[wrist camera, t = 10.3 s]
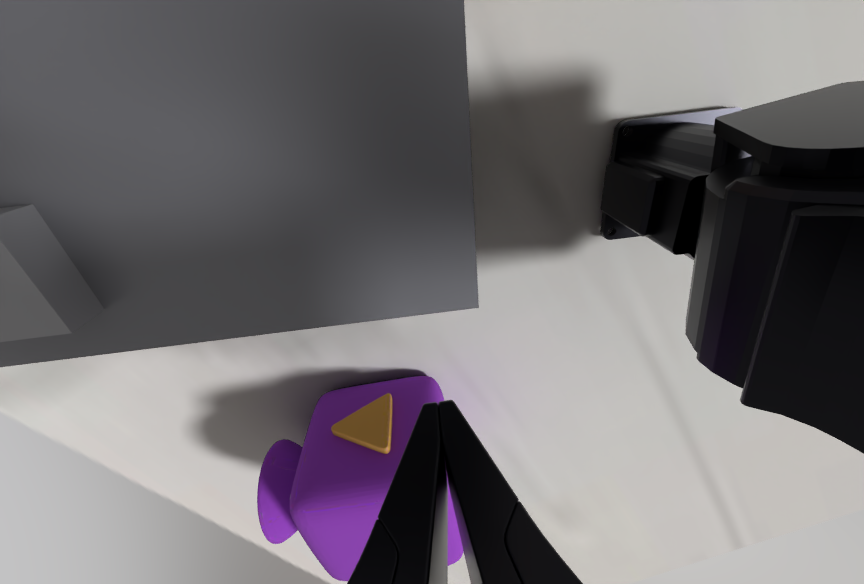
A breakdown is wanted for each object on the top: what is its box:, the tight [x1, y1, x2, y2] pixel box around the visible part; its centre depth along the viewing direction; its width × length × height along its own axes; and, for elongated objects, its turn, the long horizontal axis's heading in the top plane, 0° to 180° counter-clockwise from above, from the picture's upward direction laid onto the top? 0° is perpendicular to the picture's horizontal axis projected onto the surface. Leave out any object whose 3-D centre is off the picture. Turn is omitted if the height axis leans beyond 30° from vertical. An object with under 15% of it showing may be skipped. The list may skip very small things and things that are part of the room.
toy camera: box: [257, 376, 463, 581], centre depth 25 cm, size 11×14×10 cm
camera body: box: [0, 0, 479, 367], centre depth 14 cm, size 23×12×10 cm, turn 96°
